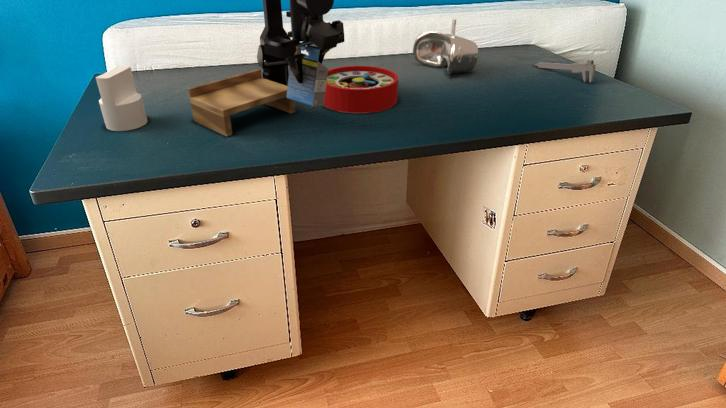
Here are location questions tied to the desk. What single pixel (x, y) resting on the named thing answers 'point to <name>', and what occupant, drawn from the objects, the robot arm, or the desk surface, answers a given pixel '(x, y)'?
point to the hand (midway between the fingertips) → (307, 80)
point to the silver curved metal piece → (446, 51)
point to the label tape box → (309, 80)
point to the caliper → (573, 68)
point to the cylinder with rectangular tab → (120, 100)
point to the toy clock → (360, 89)
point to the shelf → (235, 99)
